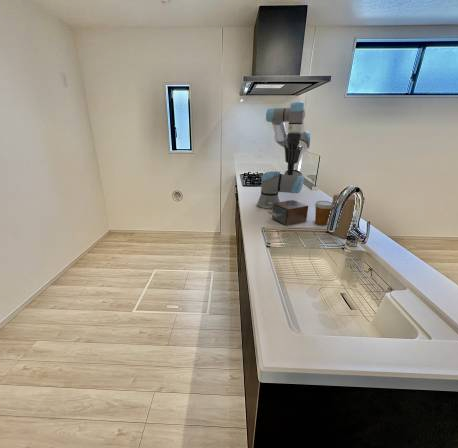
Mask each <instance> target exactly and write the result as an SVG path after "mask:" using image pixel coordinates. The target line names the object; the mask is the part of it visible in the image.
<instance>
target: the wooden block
mask: <svg viewBox="0 0 458 448" xmlns="http://www.w3.org/2000/svg"><path fill="white" fill-rule="evenodd" d="M339 194H340V193H338V194H337V193H336V194H333V197H332V202H331V203H332V207H331V210H332V208H333V205H334V204H335V201H336V199H337V198H338V196H339ZM352 194H353V195H351V196H350V198H349V199H348V200H347V202H346V204H345V205H344V207H343V209H342V212H341V215H340V218H339V221H338V227H337V230H336V231H334V232H329V231H328V230H327V229H326V232H328V233H330V234H332V235H334V236H336V237H339V238H341V239H347V238H348V237H347V233H348V230H349V228H350V225H351V222H352V218H353V211H354V205H355V195H356V194H354V193H352ZM362 197H363V200H364V201H363V205H364V203H365V200H366V198H365V197H366V196H362Z"/></svg>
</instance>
